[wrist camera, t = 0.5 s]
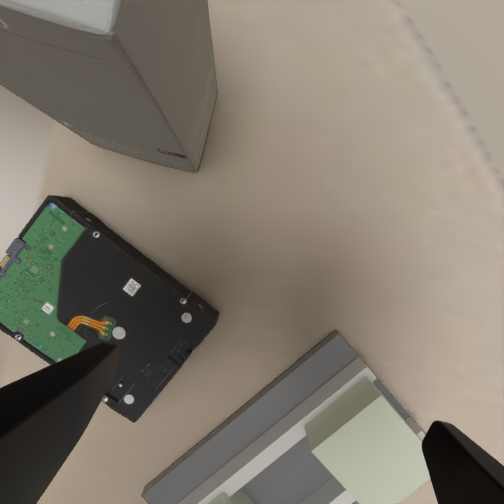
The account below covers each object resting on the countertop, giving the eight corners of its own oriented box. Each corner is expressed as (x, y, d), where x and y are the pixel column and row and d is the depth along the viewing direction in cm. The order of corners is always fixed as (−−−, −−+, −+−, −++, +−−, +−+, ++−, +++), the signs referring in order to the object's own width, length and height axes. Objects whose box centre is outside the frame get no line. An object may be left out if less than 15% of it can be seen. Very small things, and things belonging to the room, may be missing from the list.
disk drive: (222, 308, 24) (69, 194, 22) (219, 320, 21) (45, 191, 19) (147, 402, 24) (-6, 298, 23) (135, 426, 22) (-40, 309, 20)
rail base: (244, 585, 26) (244, 668, 21) (144, 487, 24) (120, 551, 20) (430, 440, 25) (474, 492, 20) (335, 329, 23) (359, 357, 19)
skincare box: (93, 146, 21) (-331, -65, 6) (114, 48, 21) (-299, -504, 5) (203, 177, 22) (96, 64, 6) (228, 82, 21) (179, -322, 5)
